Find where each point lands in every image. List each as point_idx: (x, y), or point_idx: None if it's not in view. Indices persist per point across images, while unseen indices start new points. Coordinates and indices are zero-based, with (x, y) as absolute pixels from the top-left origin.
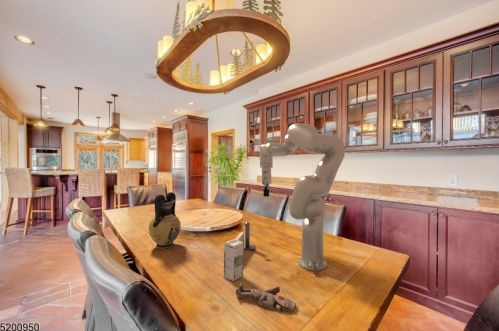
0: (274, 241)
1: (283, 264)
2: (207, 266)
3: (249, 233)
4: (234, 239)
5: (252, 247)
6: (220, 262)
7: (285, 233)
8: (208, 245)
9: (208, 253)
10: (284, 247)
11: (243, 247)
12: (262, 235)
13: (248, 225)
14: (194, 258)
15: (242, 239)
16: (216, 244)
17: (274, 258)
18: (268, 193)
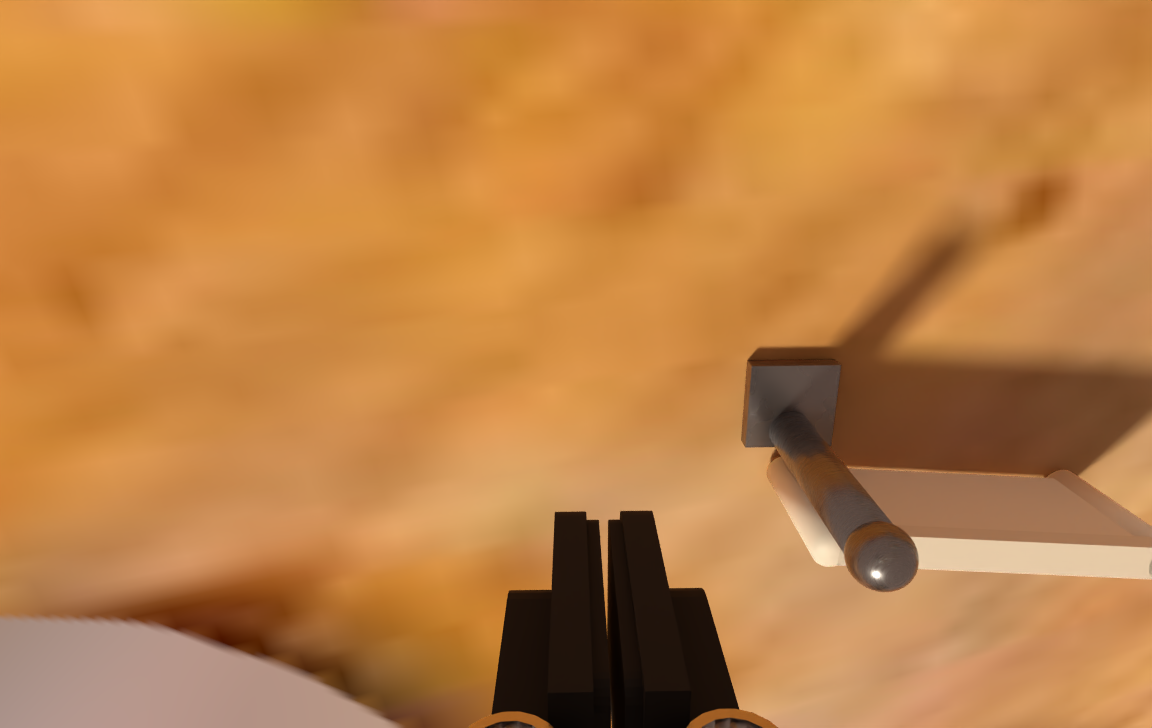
0: (550, 186)
1: (1142, 50)
2: (1127, 612)
3: (840, 473)
4: (1060, 573)
5: (806, 383)
6: None
7: (219, 63)
8: None
9: (904, 673)
10: (719, 57)
11: None
12: (381, 341)
13: (907, 535)
14: (993, 725)
15: None
16: None
17: (1007, 147)
18: (663, 584)
